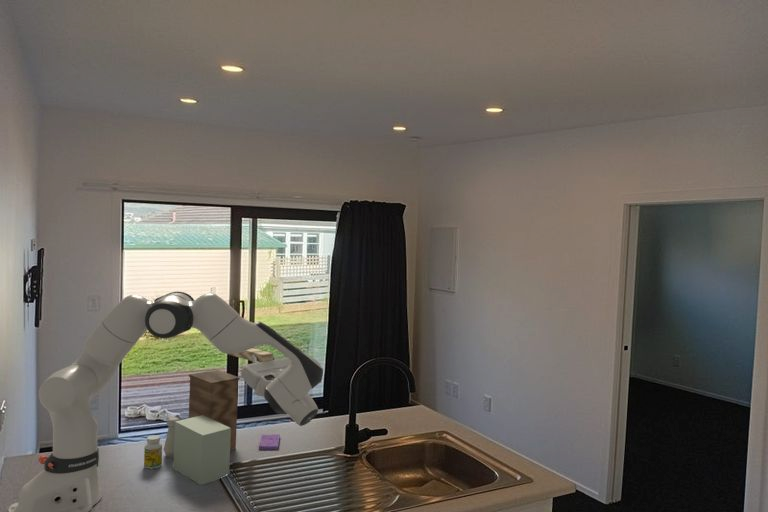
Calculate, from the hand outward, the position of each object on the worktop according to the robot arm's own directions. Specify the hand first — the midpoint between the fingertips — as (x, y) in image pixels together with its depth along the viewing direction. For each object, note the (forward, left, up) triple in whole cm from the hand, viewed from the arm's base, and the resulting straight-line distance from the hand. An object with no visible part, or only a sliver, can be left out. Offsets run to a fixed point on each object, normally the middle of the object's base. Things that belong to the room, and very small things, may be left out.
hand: (259, 355), depth 183 cm
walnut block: (0, +26, -38) cm, 46 cm away
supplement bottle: (-23, +24, -38) cm, 51 cm away
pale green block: (-14, +10, -38) cm, 42 cm away
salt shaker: (-14, +28, -38) cm, 50 cm away
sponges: (+18, +16, -39) cm, 45 cm away
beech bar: (0, +7, -2) cm, 7 cm away
